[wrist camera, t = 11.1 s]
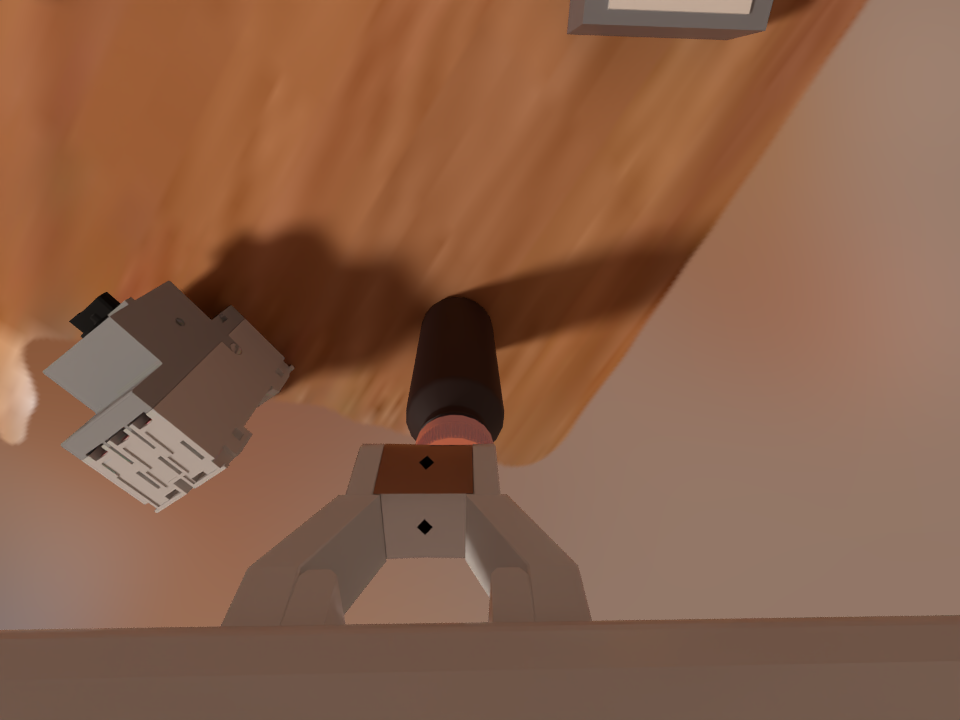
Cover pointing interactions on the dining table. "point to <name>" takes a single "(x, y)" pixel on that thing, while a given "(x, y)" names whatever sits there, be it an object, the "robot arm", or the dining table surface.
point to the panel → (669, 18)
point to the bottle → (455, 378)
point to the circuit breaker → (165, 390)
